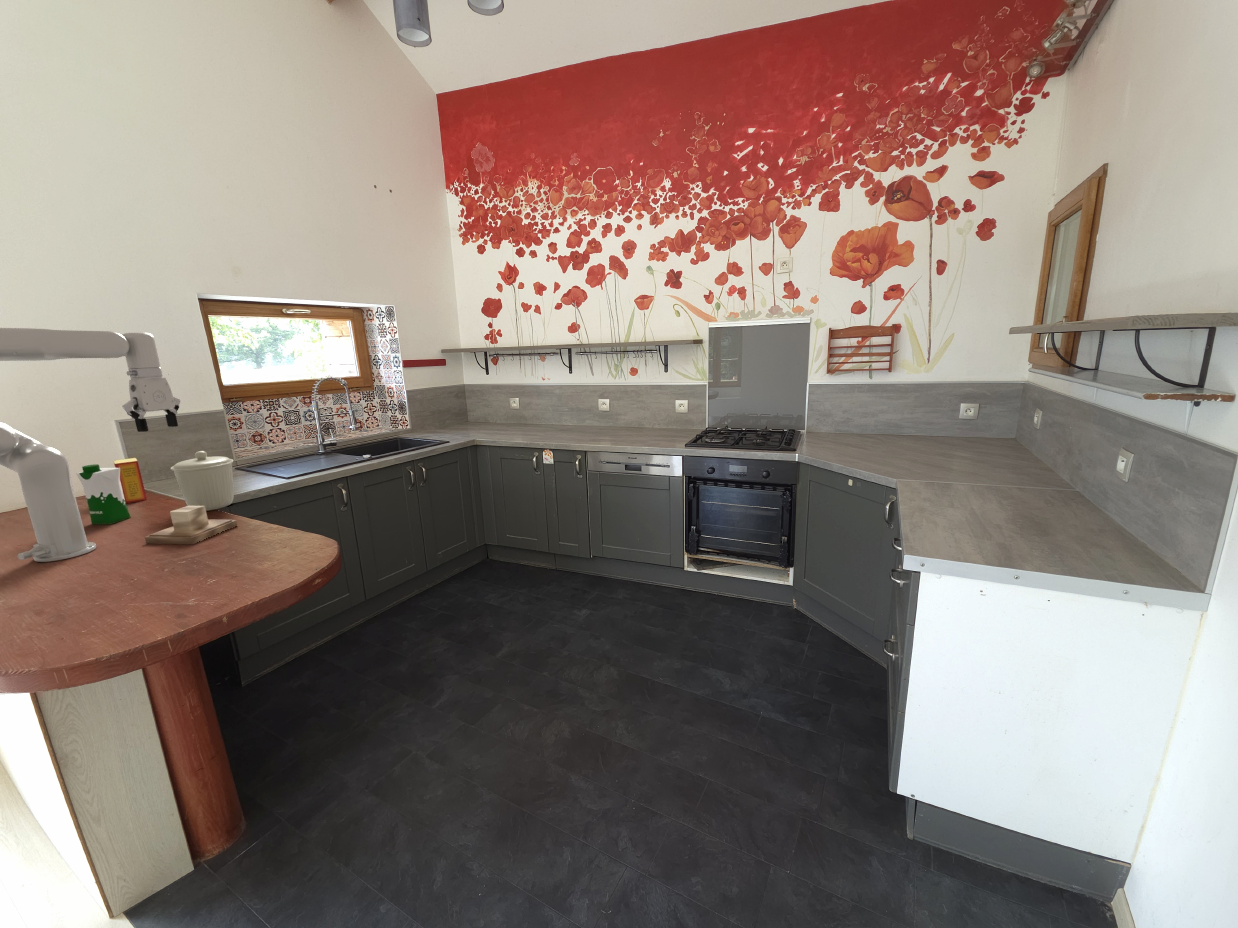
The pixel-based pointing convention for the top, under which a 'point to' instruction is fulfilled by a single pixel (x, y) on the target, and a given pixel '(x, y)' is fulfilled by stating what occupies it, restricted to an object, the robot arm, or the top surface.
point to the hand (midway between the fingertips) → (158, 429)
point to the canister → (206, 481)
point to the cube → (189, 518)
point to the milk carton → (104, 494)
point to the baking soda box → (131, 480)
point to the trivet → (190, 533)
